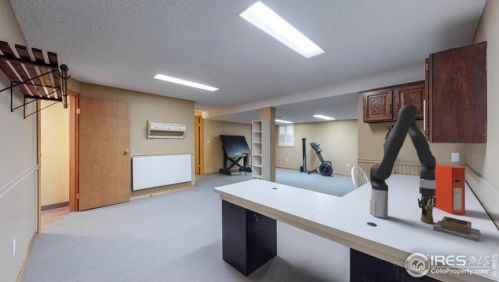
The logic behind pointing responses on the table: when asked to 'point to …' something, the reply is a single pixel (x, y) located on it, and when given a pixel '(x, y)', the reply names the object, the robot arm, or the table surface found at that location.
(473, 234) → the socket block
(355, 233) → the table surface
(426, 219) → the cork
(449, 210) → the file binder
